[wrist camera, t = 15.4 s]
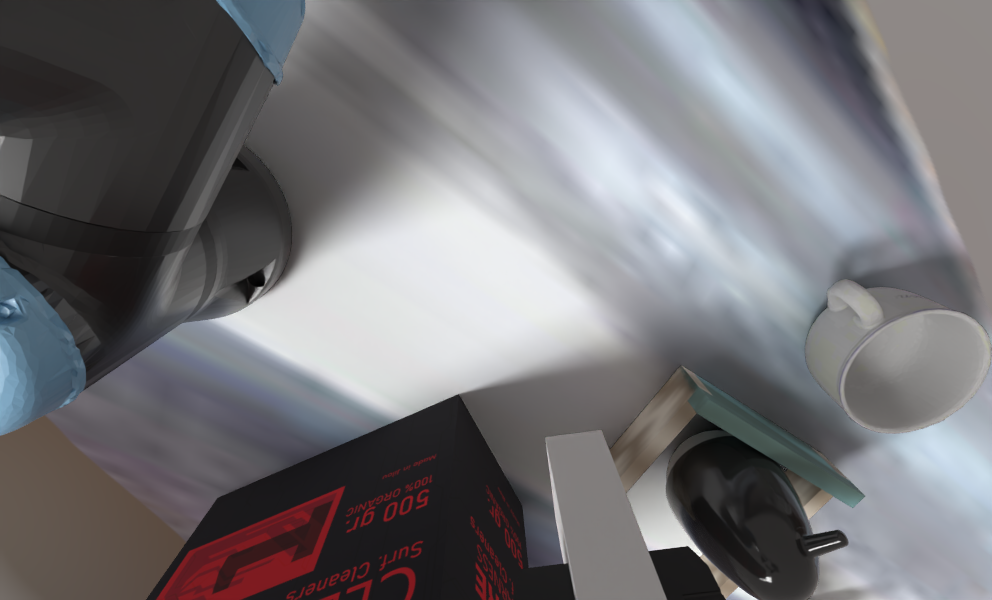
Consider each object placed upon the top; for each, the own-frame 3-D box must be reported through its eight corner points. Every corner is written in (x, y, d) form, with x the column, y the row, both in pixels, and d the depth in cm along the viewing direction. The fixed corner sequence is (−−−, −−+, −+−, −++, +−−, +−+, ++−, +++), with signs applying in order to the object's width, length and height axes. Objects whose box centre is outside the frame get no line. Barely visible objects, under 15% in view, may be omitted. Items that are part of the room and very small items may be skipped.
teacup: (920, 351, 46) (1007, 397, 38) (807, 406, 47) (869, 460, 40) (877, 221, 42) (964, 244, 34) (754, 286, 43) (812, 321, 36)
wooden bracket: (704, 569, 54) (730, 621, 48) (568, 497, 50) (579, 545, 45) (821, 453, 49) (865, 496, 44) (681, 365, 46) (709, 399, 40)
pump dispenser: (780, 449, 49) (903, 585, 35) (701, 516, 52) (785, 668, 37) (710, 392, 47) (810, 512, 32) (631, 465, 49) (692, 606, 35)
